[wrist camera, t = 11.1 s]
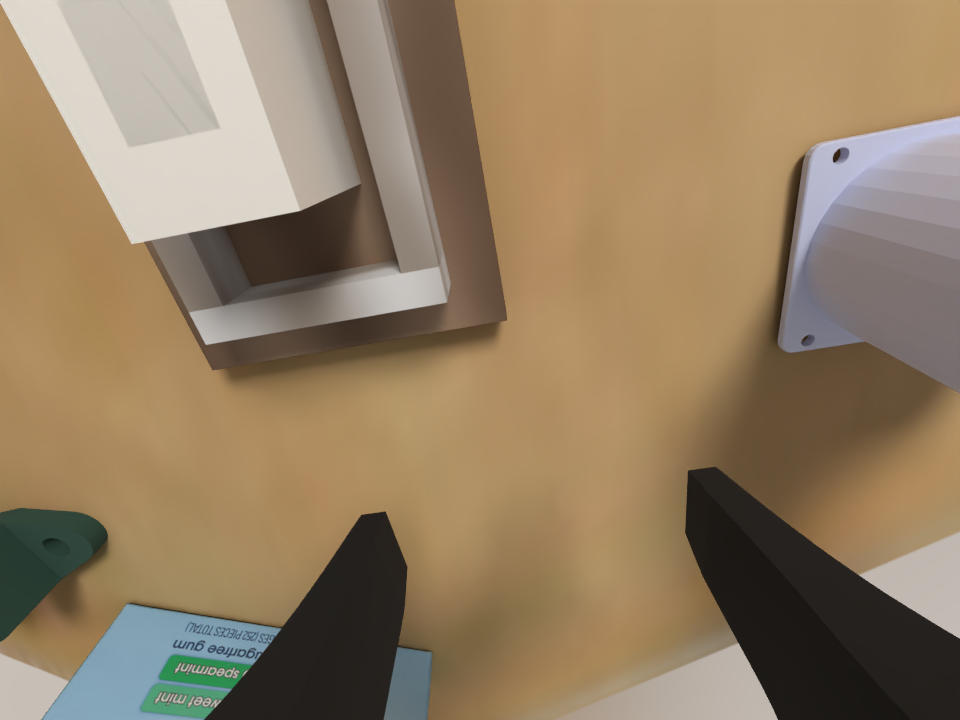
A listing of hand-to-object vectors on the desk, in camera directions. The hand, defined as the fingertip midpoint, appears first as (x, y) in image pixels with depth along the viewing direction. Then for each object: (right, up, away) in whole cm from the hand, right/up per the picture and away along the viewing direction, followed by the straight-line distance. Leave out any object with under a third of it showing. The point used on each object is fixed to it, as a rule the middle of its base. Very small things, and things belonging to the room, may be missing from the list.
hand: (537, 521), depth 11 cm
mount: (-27, -6, +14) cm, 31 cm away
